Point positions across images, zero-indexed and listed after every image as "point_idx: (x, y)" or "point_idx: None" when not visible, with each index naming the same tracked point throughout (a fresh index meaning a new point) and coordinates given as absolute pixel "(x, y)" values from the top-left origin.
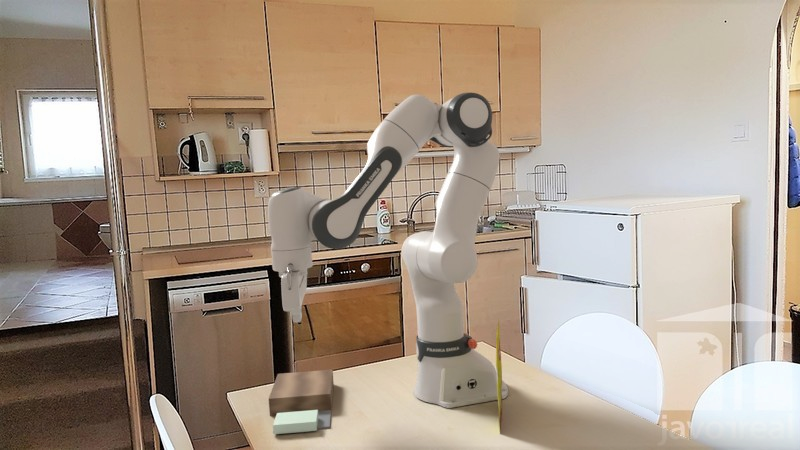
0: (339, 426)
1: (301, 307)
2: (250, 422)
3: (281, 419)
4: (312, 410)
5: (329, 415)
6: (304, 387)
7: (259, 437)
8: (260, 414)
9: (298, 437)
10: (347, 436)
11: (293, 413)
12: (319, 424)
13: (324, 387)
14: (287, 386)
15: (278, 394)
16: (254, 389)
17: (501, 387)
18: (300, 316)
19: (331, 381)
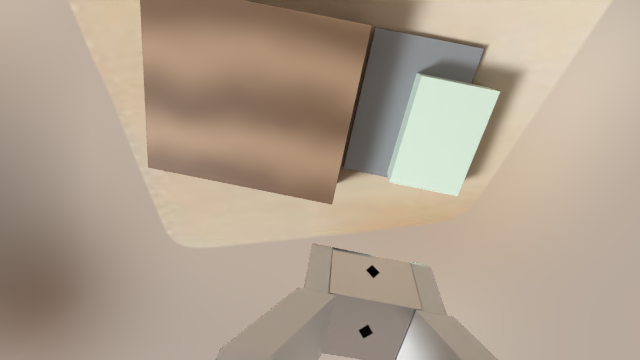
0: (486, 17)
1: (282, 313)
2: (352, 223)
3: (434, 175)
4: (419, 91)
5: (413, 38)
6: (284, 102)
7: (438, 211)
8: (317, 202)
9: (488, 133)
10: (563, 4)
11: (412, 144)
12: (457, 75)
13: (308, 37)
14: (258, 150)
15: (311, 179)
16: (162, 206)
17: None
18: (440, 297)
19: (255, 2)
